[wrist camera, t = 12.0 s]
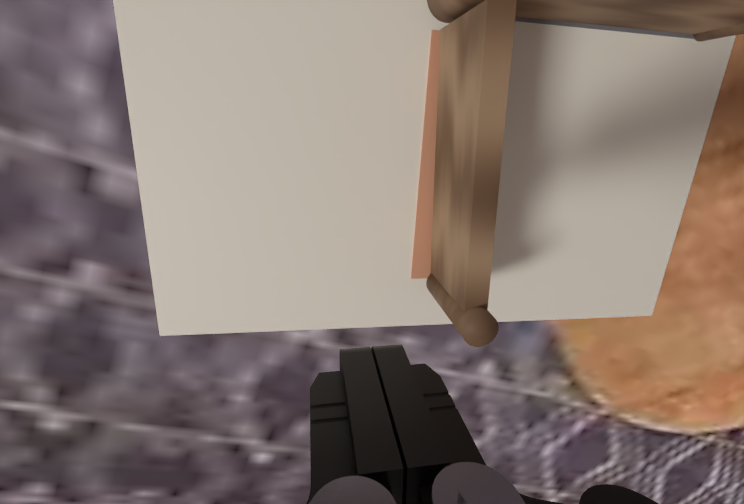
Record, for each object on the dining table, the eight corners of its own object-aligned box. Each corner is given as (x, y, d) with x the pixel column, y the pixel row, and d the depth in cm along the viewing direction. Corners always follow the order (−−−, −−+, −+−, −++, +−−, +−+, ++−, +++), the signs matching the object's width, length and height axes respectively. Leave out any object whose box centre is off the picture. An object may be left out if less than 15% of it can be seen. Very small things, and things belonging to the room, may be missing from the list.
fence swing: (434, 28, 20) (488, -7, 14) (468, 29, 20) (534, -5, 15) (424, 295, 25) (461, 348, 19) (452, 292, 25) (496, 344, 19)
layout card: (764, -73, 22) (770, -75, 22) (649, 314, 30) (653, 316, 29) (89, -182, 16) (85, -188, 16) (160, 334, 24) (159, 336, 23)
